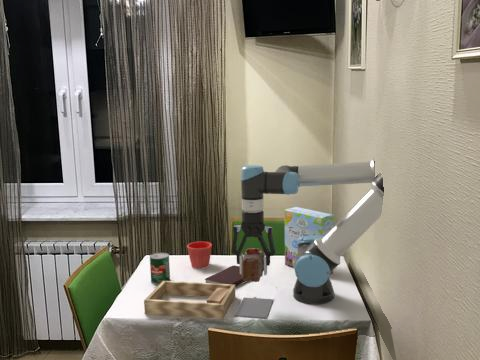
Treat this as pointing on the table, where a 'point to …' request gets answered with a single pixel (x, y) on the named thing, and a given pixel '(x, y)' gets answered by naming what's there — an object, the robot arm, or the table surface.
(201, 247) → the flower pot
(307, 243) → the robot arm
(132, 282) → the table surface
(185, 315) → the tray
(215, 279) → the book
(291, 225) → the snack box
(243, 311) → the mat
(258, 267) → the food item
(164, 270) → the canned tomato
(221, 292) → the offcut stack
